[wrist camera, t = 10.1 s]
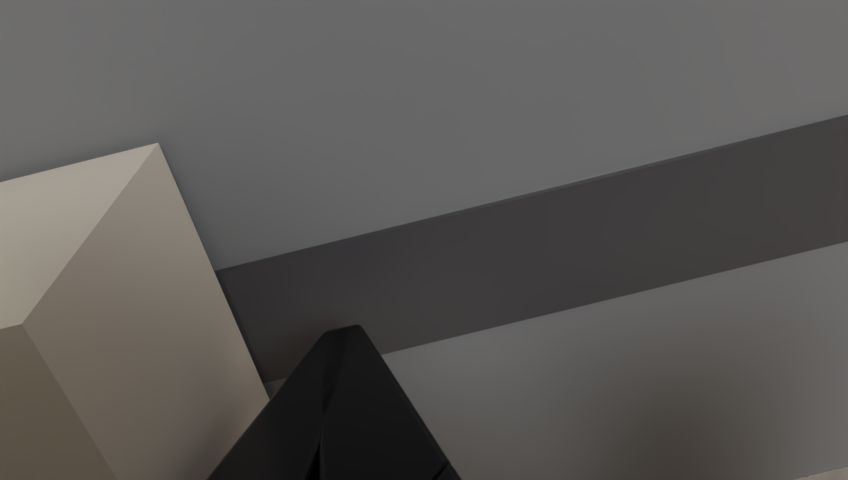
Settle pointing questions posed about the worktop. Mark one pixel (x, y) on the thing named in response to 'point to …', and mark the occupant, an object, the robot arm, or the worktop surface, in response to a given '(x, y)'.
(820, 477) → the worktop surface
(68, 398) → the switch handle
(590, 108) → the switch panel
